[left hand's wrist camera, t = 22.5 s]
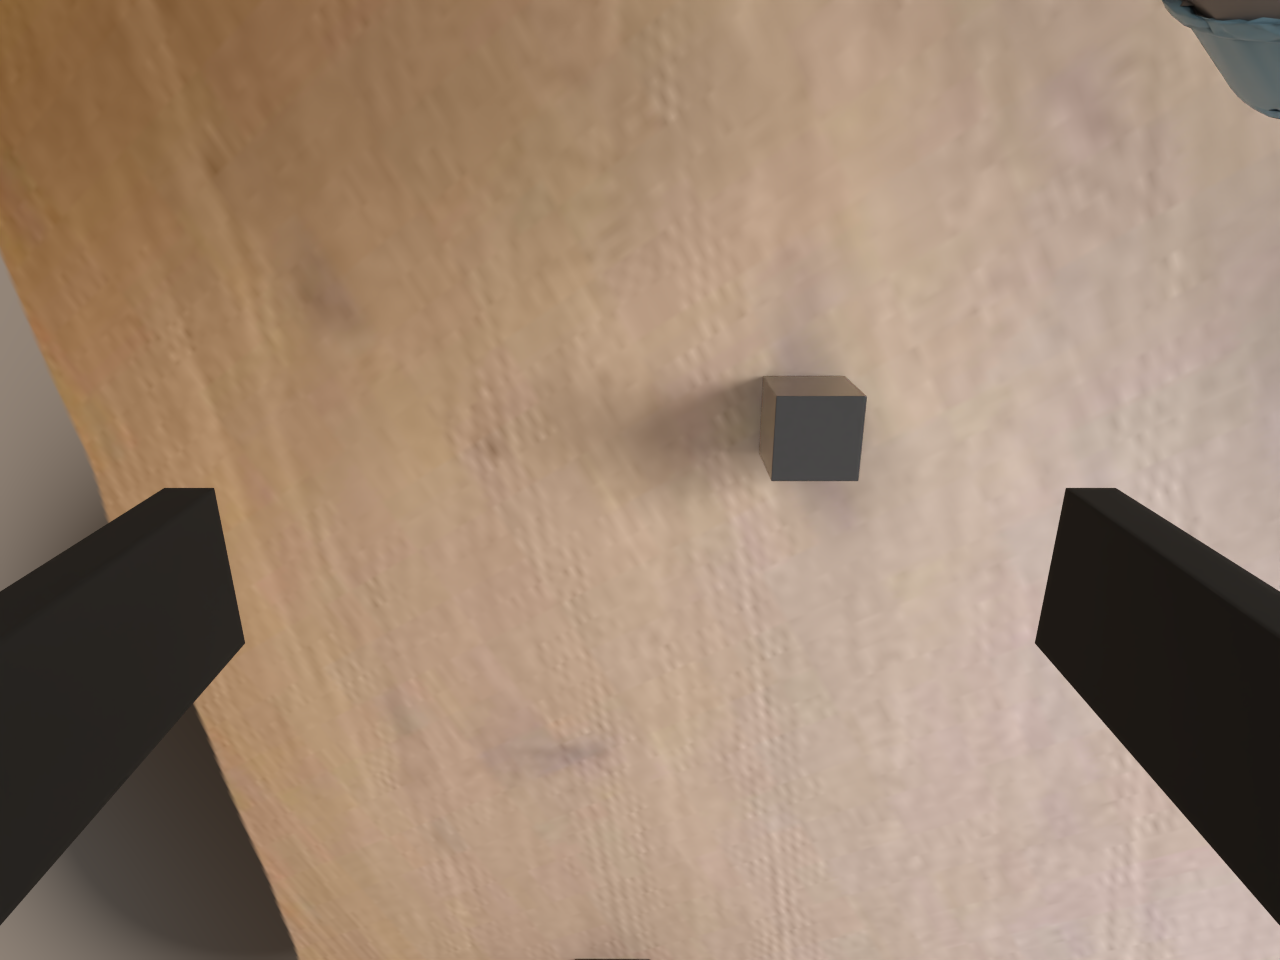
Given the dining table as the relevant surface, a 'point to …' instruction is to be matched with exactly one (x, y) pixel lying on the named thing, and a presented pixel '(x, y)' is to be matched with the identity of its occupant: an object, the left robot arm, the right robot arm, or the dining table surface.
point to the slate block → (811, 428)
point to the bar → (605, 959)
